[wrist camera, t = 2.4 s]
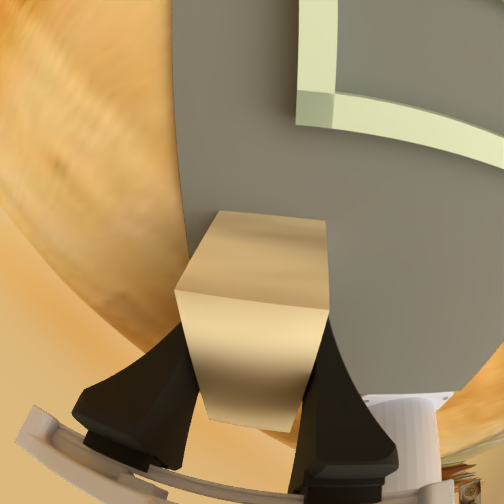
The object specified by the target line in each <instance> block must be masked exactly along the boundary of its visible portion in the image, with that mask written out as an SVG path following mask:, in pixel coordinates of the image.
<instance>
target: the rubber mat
mask: <svg viewBox="0 0 504 504" xmlns="http://www.w3.org/2000/svg"><path fill="white" fill-rule="evenodd" d="M298 45H299V0H172V67H173V93H174V111H175V127H176V140H177V153H178V164H179V175H180V185H181V194H182V203H183V212H184V220H185V228H186V236H187V243H188V250H189V257H190V260H191V258H192V256H193V255H194V253H195V251H196V249H197V248H198V246H199V244H200V242H201V241H202V239H203V237H204V236H205V234H206V232H207V230H208V229H209V227H210V225H211V224H212V222H213V220H214V219H215V217H216V215H217V214H218V212H219V210H220V211H232V212H244V213H255V214H265V215H276V216H286V217H295V218H305V219H314V220H323V221H326V235H327V252H328V272H329V305H330V310H329V314H328V316H329V320H330V324H331V328H332V331H333V334H334V337H335V340H336V343H337V346H338V349H339V351H340V354H341V357H342V359H343V361H344V364H345V366H346V368H347V371H348V373H349V375H350V377H351V379H352V381H353V383H354V385H355V387H356V389H357V390H358V392H359V394H416V393H435V392H448V391H459V390H462V389H463V388H464V387H465V386H466V385H467V383H468V382H469V381H470V380H471V379H472V378H473V377H474V376H475V375H476V374H477V373H478V371H479V370H480V369H481V368H482V367H483V366H484V365H485V363H486V362H487V361H488V360H489V359H490V358H491V356H492V355H493V354H494V353H495V351H496V350H497V349H498V348H499V346H500V345H501V344H502V342H503V341H504V169H502V168H499V167H496V166H494V165H491V164H488V163H485V162H482V161H479V160H476V159H472V158H469V157H466V156H463V155H459V154H456V153H452V152H449V151H445V150H441V149H437V148H433V147H429V146H425V145H421V144H417V143H412V142H408V141H403V140H398V139H393V138H388V137H383V136H377V135H372V134H366V133H360V132H353V131H346V130H339V129H331V128H323V127H314V126H304V125H295V124H296V104H297V79H298ZM335 91H336V92H344V93H351V94H357V95H363V96H369V97H374V98H379V99H384V100H389V101H394V102H398V103H403V104H407V105H411V106H415V107H419V108H423V109H427V110H430V111H434V112H437V113H441V114H444V115H447V116H450V117H453V118H457V119H460V120H463V121H465V122H468V123H471V124H474V125H477V126H479V127H482V128H485V129H487V130H490V131H492V132H495V133H497V134H500V135H502V136H504V3H503V2H502V1H500V0H338V31H337V61H336V81H335Z"/></svg>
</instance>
